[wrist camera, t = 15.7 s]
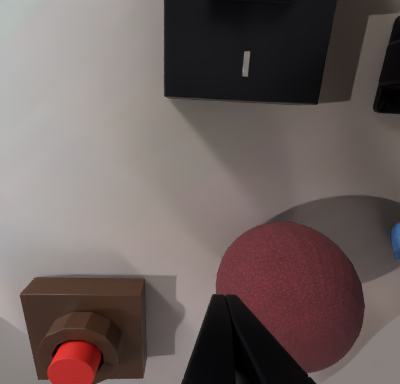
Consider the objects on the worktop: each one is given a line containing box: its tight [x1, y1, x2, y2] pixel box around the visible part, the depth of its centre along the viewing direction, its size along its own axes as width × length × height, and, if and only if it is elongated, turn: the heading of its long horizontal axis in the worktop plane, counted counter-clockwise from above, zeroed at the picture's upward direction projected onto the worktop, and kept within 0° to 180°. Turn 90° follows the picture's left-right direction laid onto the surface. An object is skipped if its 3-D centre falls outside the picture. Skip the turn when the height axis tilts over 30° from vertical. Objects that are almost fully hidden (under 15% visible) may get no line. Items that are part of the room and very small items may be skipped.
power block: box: [20, 278, 147, 384], centre depth 23 cm, size 10×10×4 cm
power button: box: [47, 340, 101, 384], centre depth 21 cm, size 4×4×2 cm
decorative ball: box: [216, 222, 365, 373], centre depth 18 cm, size 10×10×10 cm
